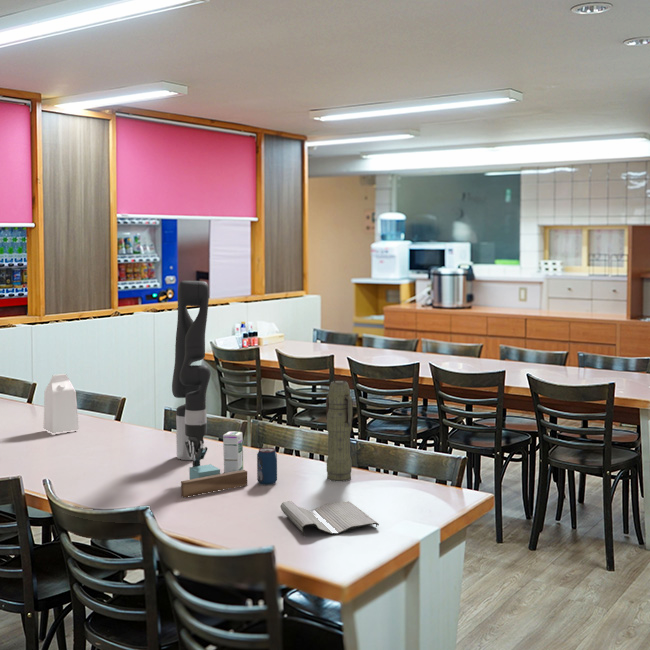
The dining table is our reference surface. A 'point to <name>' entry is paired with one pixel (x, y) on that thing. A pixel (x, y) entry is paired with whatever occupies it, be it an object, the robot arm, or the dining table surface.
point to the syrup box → (233, 451)
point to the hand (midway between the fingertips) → (196, 470)
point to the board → (213, 483)
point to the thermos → (339, 431)
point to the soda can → (267, 466)
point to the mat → (328, 516)
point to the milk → (60, 405)
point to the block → (203, 471)
